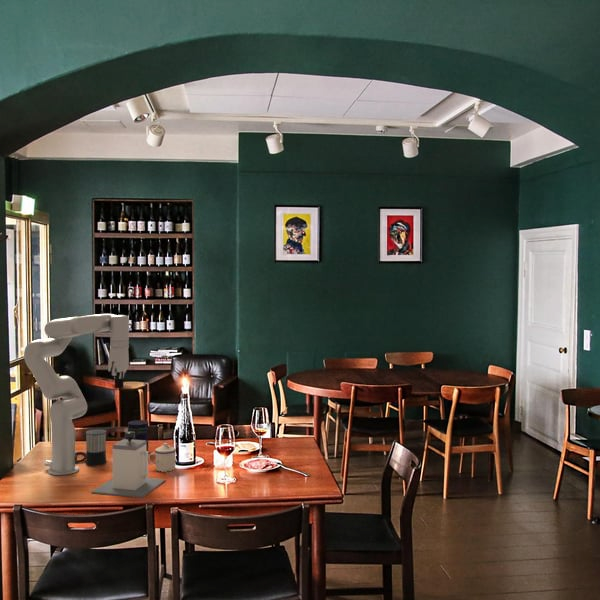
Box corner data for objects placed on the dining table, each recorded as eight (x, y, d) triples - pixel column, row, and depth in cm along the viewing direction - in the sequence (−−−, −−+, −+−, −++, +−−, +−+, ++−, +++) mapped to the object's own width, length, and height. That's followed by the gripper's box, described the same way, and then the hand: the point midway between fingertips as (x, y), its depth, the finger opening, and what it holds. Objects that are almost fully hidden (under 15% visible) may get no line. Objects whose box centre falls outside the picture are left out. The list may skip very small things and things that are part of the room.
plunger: (122, 478, 266) (123, 433, 266) (127, 475, 270) (127, 431, 270) (131, 479, 266) (132, 434, 265) (136, 476, 270) (136, 431, 269)
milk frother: (107, 465, 297) (107, 433, 297) (70, 468, 292) (70, 435, 291) (104, 457, 310) (104, 426, 310) (69, 460, 305) (69, 428, 304)
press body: (112, 488, 264) (112, 444, 264) (123, 480, 274) (124, 438, 273) (141, 490, 262) (142, 447, 261) (152, 483, 272) (152, 440, 271)
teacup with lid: (177, 466, 298) (177, 441, 297) (173, 472, 288) (173, 446, 288) (151, 465, 298) (151, 440, 297) (146, 471, 289) (146, 445, 288)
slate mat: (91, 493, 260) (91, 491, 260) (117, 476, 281) (117, 475, 281) (142, 497, 255) (142, 496, 255) (165, 480, 277) (165, 479, 277)
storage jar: (141, 456, 313) (141, 425, 312) (123, 454, 316) (123, 423, 315) (152, 451, 322) (152, 421, 322) (134, 449, 325) (135, 419, 325)
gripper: (119, 342, 284) (119, 384, 284) (102, 345, 269) (102, 390, 270) (135, 343, 282) (135, 385, 283) (119, 346, 267) (118, 391, 268)
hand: (119, 387), depth 276 cm, fingers closed
